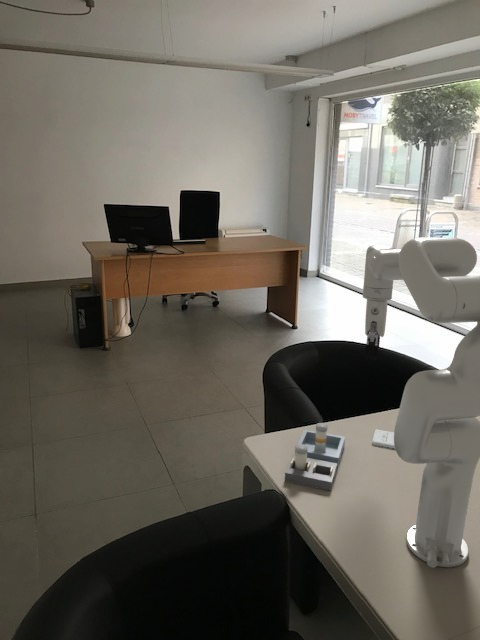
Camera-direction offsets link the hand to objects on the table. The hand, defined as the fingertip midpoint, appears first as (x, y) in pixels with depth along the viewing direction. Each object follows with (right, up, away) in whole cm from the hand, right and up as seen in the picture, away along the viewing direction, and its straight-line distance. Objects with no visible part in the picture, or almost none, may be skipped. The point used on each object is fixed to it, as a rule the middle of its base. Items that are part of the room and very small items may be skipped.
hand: (371, 352), depth 145 cm
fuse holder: (-17, -32, -6) cm, 37 cm away
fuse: (-20, -32, -5) cm, 38 cm away
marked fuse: (-13, -28, +5) cm, 32 cm away
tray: (-13, -29, +5) cm, 32 cm away
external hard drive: (+10, -28, +12) cm, 32 cm away
